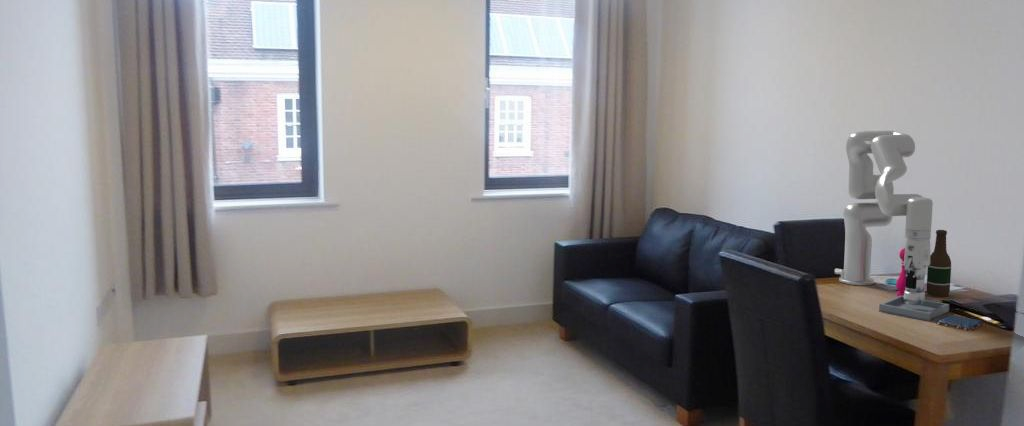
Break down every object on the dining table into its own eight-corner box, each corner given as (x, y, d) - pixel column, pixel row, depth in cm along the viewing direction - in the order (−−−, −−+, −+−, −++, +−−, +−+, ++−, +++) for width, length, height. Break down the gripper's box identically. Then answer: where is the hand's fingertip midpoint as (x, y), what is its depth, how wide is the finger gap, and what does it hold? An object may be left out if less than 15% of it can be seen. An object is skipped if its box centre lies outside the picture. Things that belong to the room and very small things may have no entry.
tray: (879, 311, 250) (879, 304, 249) (899, 302, 260) (899, 295, 259) (929, 321, 237) (929, 313, 237) (948, 311, 247) (949, 304, 247)
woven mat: (971, 333, 226) (971, 327, 226) (934, 325, 234) (935, 319, 234) (984, 326, 232) (985, 320, 232) (948, 319, 241) (949, 313, 240)
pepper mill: (920, 300, 261) (923, 245, 258) (898, 299, 263) (901, 245, 260) (913, 295, 268) (916, 241, 265) (892, 294, 270) (895, 241, 267)
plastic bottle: (898, 303, 250) (901, 246, 247) (912, 300, 253) (915, 244, 249) (915, 308, 244) (918, 250, 241) (929, 305, 247) (932, 247, 244)
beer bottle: (945, 298, 263) (949, 233, 259) (922, 294, 269) (925, 230, 265) (953, 294, 268) (957, 230, 264) (930, 290, 274) (933, 227, 270)
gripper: (918, 239, 236) (915, 293, 239) (940, 232, 247) (937, 284, 250) (894, 236, 242) (892, 289, 245) (916, 229, 253) (913, 280, 256)
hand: (914, 286), depth 247 cm, fingers closed on plastic bottle, 5 cm apart
